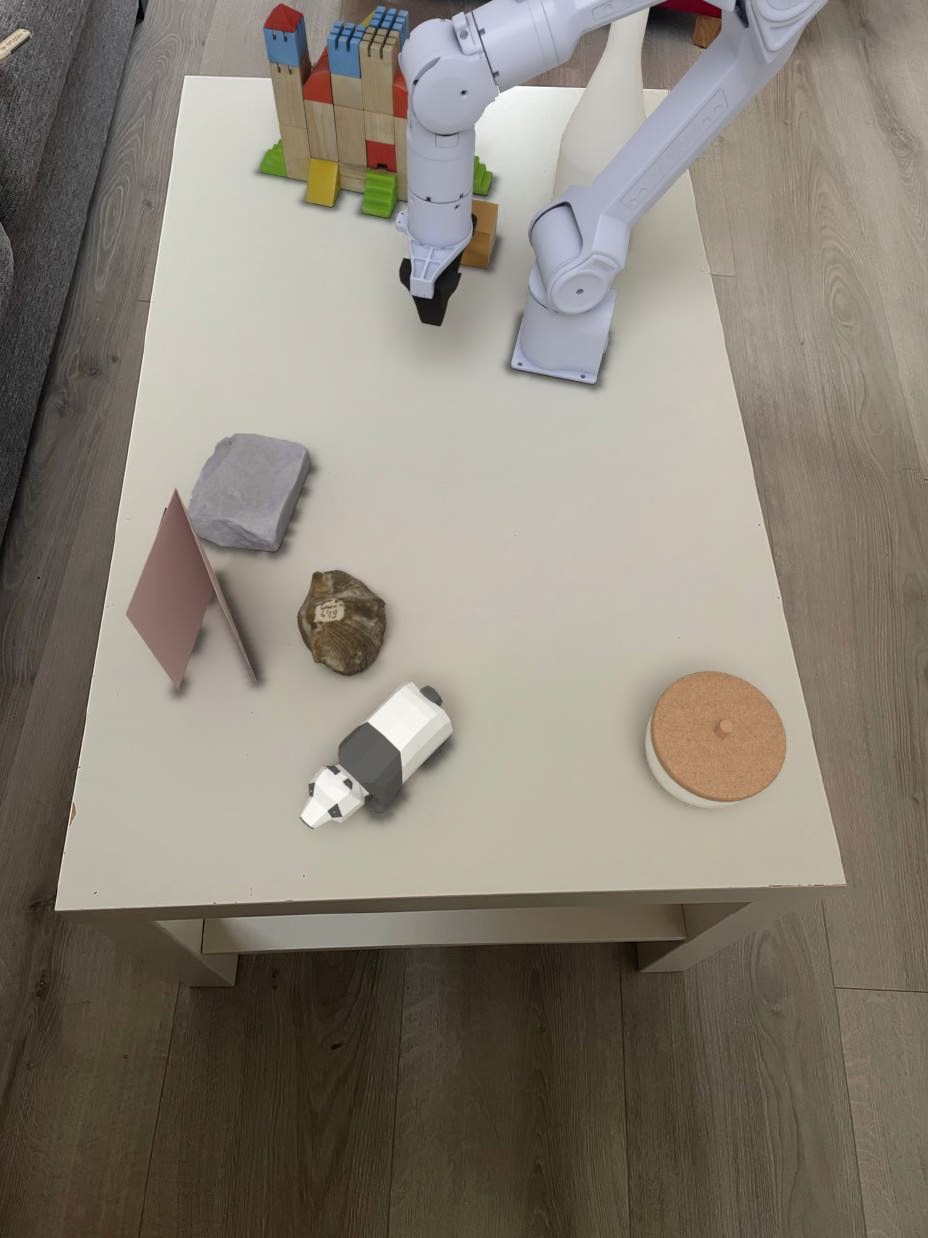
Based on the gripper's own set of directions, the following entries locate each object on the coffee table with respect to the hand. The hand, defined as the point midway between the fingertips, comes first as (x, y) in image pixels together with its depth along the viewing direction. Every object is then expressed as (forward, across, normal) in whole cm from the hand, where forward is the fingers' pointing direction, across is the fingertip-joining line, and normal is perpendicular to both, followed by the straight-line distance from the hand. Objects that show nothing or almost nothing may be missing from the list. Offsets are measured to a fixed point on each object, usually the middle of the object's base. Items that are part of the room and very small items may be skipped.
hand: (437, 302), depth 86 cm
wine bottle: (+9, -24, +13) cm, 29 cm away
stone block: (+9, +22, -14) cm, 27 cm away
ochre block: (+8, -18, 0) cm, 20 cm away
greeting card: (+9, +37, -11) cm, 40 cm away
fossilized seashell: (+9, +34, -1) cm, 35 cm away
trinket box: (+9, +39, +32) cm, 51 cm away
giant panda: (+9, +46, +6) cm, 47 cm away
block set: (+9, -28, -14) cm, 32 cm away
